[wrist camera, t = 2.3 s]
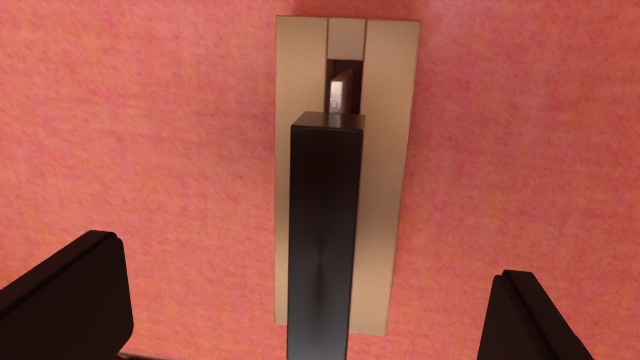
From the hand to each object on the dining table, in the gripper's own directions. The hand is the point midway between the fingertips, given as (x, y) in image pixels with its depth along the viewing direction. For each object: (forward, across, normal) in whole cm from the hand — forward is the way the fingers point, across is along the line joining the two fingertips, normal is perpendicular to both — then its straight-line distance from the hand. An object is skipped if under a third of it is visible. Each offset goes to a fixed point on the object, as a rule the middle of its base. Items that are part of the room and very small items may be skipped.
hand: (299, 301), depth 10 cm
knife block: (+11, 0, 0) cm, 11 cm away
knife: (+11, 0, 0) cm, 11 cm away
